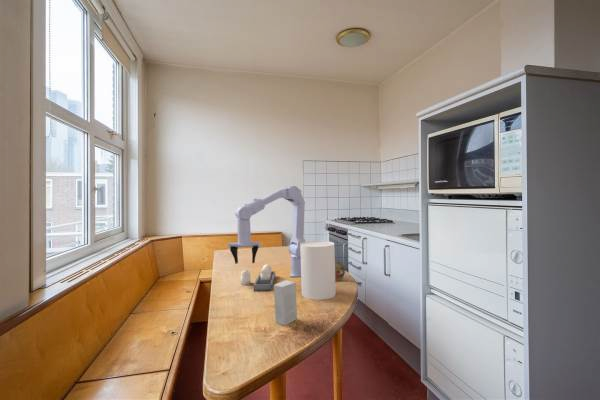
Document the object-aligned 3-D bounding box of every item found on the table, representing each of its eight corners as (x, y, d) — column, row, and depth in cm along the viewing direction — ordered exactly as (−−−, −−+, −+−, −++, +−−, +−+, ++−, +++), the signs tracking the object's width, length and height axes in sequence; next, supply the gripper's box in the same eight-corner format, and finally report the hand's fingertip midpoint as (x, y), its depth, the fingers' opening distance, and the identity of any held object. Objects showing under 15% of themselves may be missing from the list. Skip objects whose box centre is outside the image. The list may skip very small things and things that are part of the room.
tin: (312, 280, 133) (311, 261, 133) (313, 278, 136) (313, 260, 136) (344, 282, 129) (344, 263, 128) (345, 279, 132) (345, 261, 132)
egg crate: (275, 276, 141) (275, 262, 141) (271, 290, 120) (271, 274, 120) (260, 276, 141) (260, 262, 141) (253, 290, 120) (253, 274, 120)
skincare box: (287, 316, 94) (286, 279, 94) (297, 319, 91) (296, 281, 91) (274, 322, 89) (273, 284, 89) (284, 326, 87) (283, 287, 86)
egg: (251, 282, 132) (250, 268, 132) (249, 285, 128) (249, 271, 128) (241, 282, 132) (241, 269, 132) (239, 285, 128) (239, 271, 128)
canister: (334, 300, 106) (332, 247, 106) (298, 299, 109) (297, 246, 109) (336, 288, 120) (335, 241, 119) (305, 287, 122) (303, 240, 122)
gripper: (225, 234, 126) (226, 265, 126) (258, 233, 126) (259, 264, 126) (229, 232, 133) (230, 261, 133) (261, 231, 133) (261, 261, 133)
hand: (245, 263), depth 130 cm, fingers open, 7 cm apart
